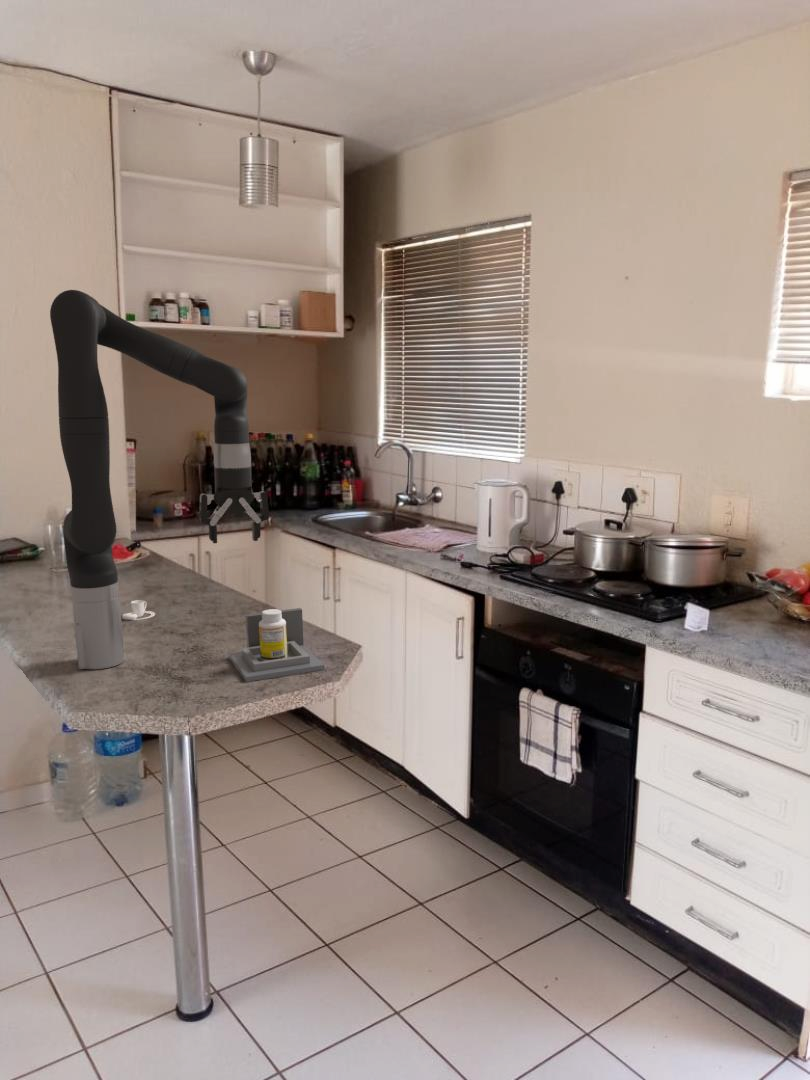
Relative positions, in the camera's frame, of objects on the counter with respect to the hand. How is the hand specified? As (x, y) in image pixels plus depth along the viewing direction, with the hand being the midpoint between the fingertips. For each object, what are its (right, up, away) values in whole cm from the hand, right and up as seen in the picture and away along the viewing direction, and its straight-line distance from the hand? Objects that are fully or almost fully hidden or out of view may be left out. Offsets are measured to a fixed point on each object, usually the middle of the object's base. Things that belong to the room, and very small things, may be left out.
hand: (235, 541), depth 178 cm
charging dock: (+9, -25, -3) cm, 27 cm away
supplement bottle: (+9, -25, -4) cm, 26 cm away
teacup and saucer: (-34, -20, +34) cm, 53 cm away
